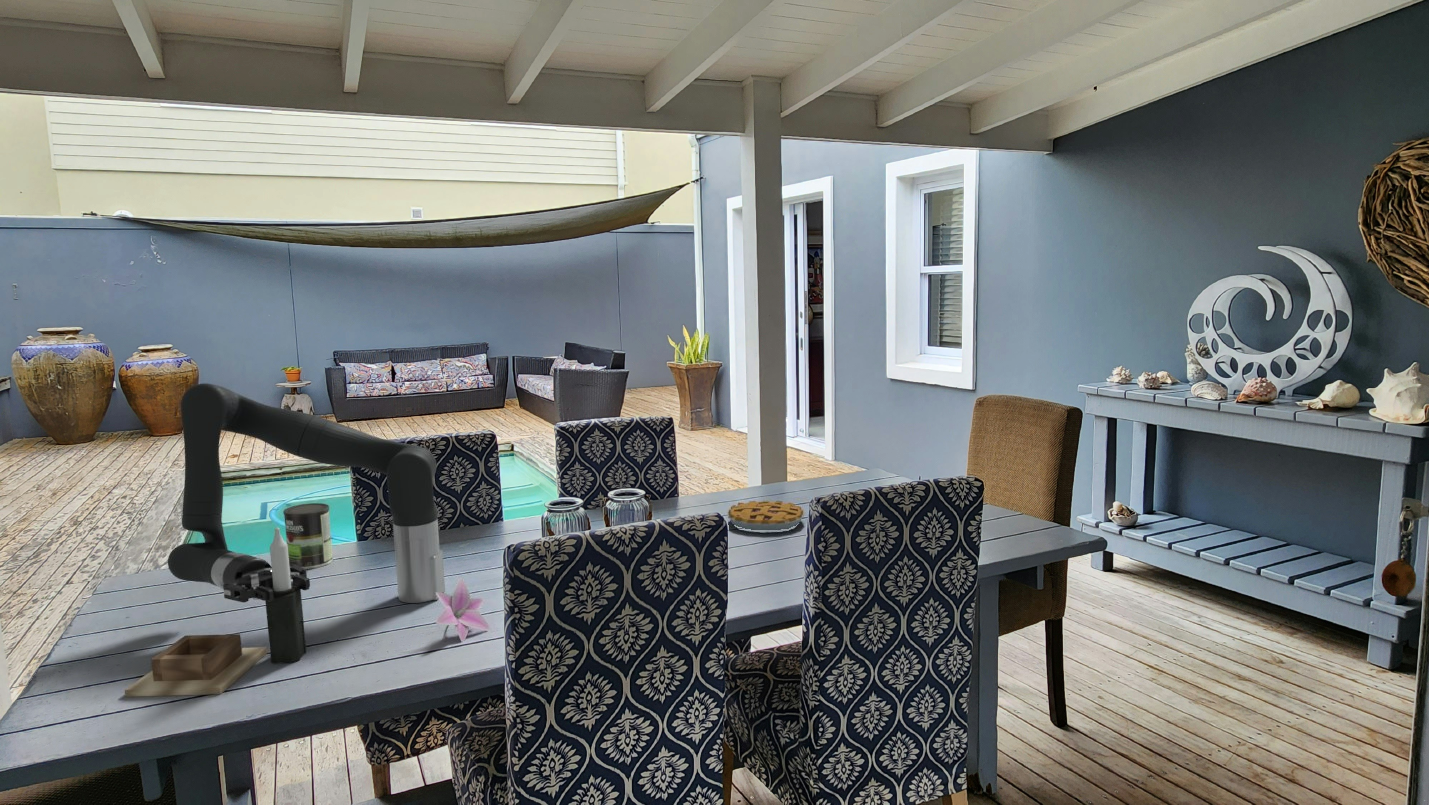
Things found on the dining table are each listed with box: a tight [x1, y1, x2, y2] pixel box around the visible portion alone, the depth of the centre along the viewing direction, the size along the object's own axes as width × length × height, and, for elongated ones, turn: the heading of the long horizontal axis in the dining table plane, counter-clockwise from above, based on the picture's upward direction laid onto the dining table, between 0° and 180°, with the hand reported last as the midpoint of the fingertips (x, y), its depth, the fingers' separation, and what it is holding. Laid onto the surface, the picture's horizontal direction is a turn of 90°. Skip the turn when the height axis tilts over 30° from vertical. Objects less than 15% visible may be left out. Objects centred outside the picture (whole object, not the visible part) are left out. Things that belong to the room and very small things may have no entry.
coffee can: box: [283, 502, 334, 570], centre depth 212 cm, size 10×10×14 cm
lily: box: [435, 577, 491, 643], centre depth 169 cm, size 12×12×10 cm
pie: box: [726, 500, 805, 530], centre depth 240 cm, size 22×22×5 cm
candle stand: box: [124, 633, 268, 698], centre depth 153 cm, size 16×16×5 cm
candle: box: [264, 527, 307, 665], centre depth 157 cm, size 5×5×25 cm
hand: (289, 590), depth 156 cm, fingers closed on candle, 6 cm apart
